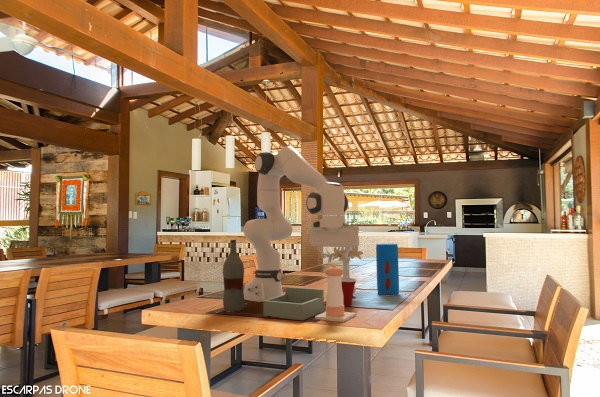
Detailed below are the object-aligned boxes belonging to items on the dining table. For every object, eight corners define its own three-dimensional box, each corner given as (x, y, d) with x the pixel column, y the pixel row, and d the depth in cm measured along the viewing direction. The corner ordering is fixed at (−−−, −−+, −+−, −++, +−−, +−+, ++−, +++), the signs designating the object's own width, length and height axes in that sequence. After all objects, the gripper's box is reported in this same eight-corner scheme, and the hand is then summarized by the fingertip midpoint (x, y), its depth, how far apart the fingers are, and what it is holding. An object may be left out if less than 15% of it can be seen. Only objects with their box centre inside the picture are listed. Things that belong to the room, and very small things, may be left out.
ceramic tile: (314, 318, 164) (314, 316, 164) (328, 312, 175) (328, 310, 175) (343, 322, 158) (343, 319, 158) (355, 315, 169) (355, 313, 169)
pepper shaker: (347, 315, 164) (346, 265, 165) (329, 317, 162) (328, 266, 163) (340, 312, 171) (339, 263, 172) (323, 313, 169) (322, 264, 170)
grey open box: (263, 316, 171) (263, 293, 172) (286, 307, 187) (286, 286, 187) (302, 320, 162) (302, 296, 163) (324, 311, 178) (323, 289, 178)
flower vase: (327, 294, 220) (326, 245, 221) (363, 294, 218) (362, 244, 219) (326, 298, 207) (325, 246, 208) (364, 298, 205) (363, 246, 206)
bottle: (238, 313, 178) (238, 240, 179) (219, 312, 180) (218, 240, 182) (248, 308, 187) (247, 239, 188) (229, 307, 189) (228, 239, 191)
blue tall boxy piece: (377, 295, 213) (376, 244, 214) (377, 292, 223) (375, 243, 224) (399, 295, 211) (398, 244, 212) (398, 292, 221) (397, 243, 223)
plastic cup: (356, 308, 183) (355, 279, 184) (331, 307, 185) (330, 279, 186) (358, 303, 194) (357, 276, 194) (334, 302, 196) (333, 276, 197)
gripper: (361, 222, 166) (362, 258, 166) (314, 223, 176) (315, 256, 176) (355, 223, 161) (355, 260, 160) (307, 223, 171) (307, 258, 170)
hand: (334, 258), depth 168 cm, fingers open, 8 cm apart
